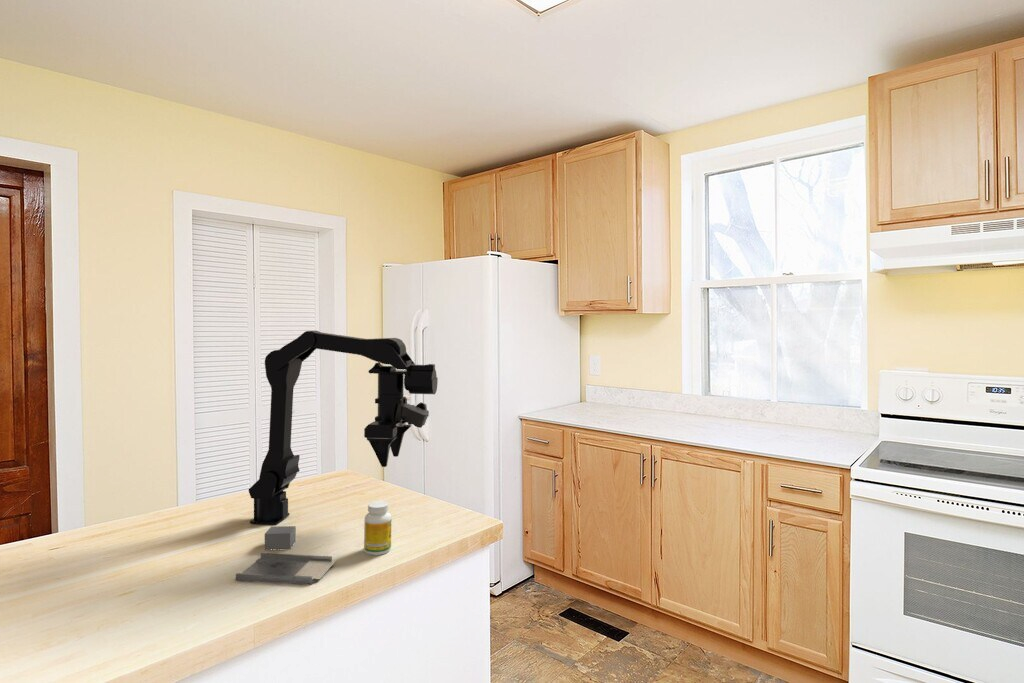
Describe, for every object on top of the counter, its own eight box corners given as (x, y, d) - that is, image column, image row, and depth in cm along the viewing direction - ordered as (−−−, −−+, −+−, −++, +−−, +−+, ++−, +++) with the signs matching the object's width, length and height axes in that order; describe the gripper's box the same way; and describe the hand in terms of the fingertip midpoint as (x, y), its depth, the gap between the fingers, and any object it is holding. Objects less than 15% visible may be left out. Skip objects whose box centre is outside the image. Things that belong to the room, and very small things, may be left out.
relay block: (264, 550, 113) (264, 533, 113) (271, 543, 117) (271, 526, 117) (290, 550, 113) (290, 533, 113) (295, 542, 117) (295, 526, 117)
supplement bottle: (361, 547, 115) (362, 501, 115) (387, 543, 117) (388, 498, 117) (367, 557, 110) (367, 509, 110) (394, 553, 112) (394, 506, 112)
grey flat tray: (235, 580, 100) (235, 573, 100) (261, 559, 109) (261, 552, 109) (317, 584, 99) (317, 578, 99) (336, 562, 108) (336, 556, 108)
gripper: (415, 400, 117) (415, 473, 117) (434, 389, 135) (433, 452, 136) (363, 398, 117) (363, 472, 118) (389, 388, 136) (388, 451, 137)
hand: (390, 461), depth 127 cm, fingers open, 9 cm apart
